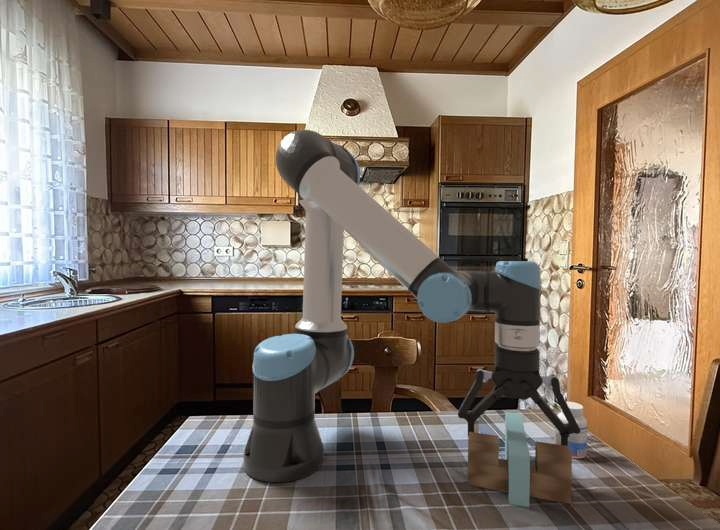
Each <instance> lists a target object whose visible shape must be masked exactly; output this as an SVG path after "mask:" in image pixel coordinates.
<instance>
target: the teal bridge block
mask: <svg viewBox="0 0 720 530" xmlns="http://www.w3.org/2000/svg"><path fill="white" fill-rule="evenodd" d="M504 415H505V416H504V419H505V420H504V429H505V430H504V455H505V456H504V458H505V460H508V470H509V492H508V504H509V505H514V506H519V507H524V508H530V496H529V494H530V464H531V457H530V452H529V447H528V441H527V436H526V431H525V426H524V421H523V415H522V413H518V412H510V411H505V414H504Z"/></svg>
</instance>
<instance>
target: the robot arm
mask: <svg viewBox="0 0 720 530" xmlns="http://www.w3.org/2000/svg"><path fill="white" fill-rule="evenodd" d="M275 166H276V169H277V172H278V175H279V176H280V177H281V178H282V180H283V181H284V182H285V184H287V185H288V186H289V187H290V188H291V189H293V190H294V192H295V193H297V194H298V195H299V198H298V199H299V201H298V202H299V204H300V205H301V206H302V208H303V209H304V211H305V226H304V227H305V228H304V229H305V231H304V259H303V260H304V261H303V295H302V316H301V317H302V318H301V319H300V320H299V321H298V322H297V323H296V324H295V327H294V328H295V331H294V333H286V334H282V335H275V336H271V337H268V338H266V339H264V340H262V341H261V342H260V343H258V345H257V346H255V349H254V352H253V360H252V361H253V362H252V367H251V368H252V369H251V370H252V405H253V406H252V411H253V413H252V414H253V418H252V419H253V420H252V421H253V422H252V426H251V429H250V432H249V435H248V439H247V442H246V444H245V447H244V451H243V469H244V471H245V473H246V474H247V475H249V476H250V477H251V478H253V479H255V480H257V481H262V482H266V483H267V482H268V483H286V482H287V483H288V482H292V481H293V482H294V481H296V480H299V479H303V478H306V477H307V476H310V475H312V474H313V473H315V472H316V471H317V470H318V469H319V468H320V467H321V466H322V464H323V462H324V459H325V458H324V457H325V456H324V450H325V449H324V443H323V441H322V437H321V435H320V431H319V428H318V425H317V422H316V416H315V414H316V413H315V412H316V411H315V409H316V408H315V407H316V403H315V399H316V396H315V395H316V394H317V393H319V392H320V391H321V390H323V389H325V388H326V387H328V386H330V385H332V384H333V383H336V382H338V381H339V380H340V379H341V378H343V377H344V375H346V374H347V373H348V371H349V370H350V368H351V366H352V365H353V363H354V362H353V361H354V357H355V350H354V345H353V342H352V340H351V339H350V337H349V335H348V325H347V324H346V323H345V321H343V319H342V295H343V293H342V292H343V291H342V290H343V289H342V288H343V264H344V259H343V258H344V236H345V235H344V234H345V232H346V233H347V234H348V235H349V236H350V237H351V238H352V239H353V240H355V242H356V243H357V244H359V246H360V247H361V248H363V249H364V250H365V251H366V252H367V253H368V254H369V255H370V256H372V257H373V259H374V260H375V261H377V263H378V264H380V265H381V266H382V267H383V268H384V269H385V270H386V271H387V272H388V273H389V274H390V275H391V276H393V278H394V279H395V280H397V281H398V282H399V283H400V284H401V285H402V286H403V287H404V288H405V290H407V291H408V292H409V293H411V295H412V296H413V297H414V298H415V299H416V300H417V304H418V307H419V310H420V311H421V313H422V314H423V315H424V316H425V317H426V318H427V319H429V320H430V321H433V322H434V323H440V324H441V323H442V324H444V323H445V324H446V323H451V322H455V321H458V320H459V319H460V318H463V317H464V316H466V314H467V313H468V312H486V313H492V312H493V313H494V314H495V315H494V316H495V317H494V320H495V321H494V343H496V345H495V347H494V367H493V370H492V371H491V370H490V371H489V370H486V369H485V370H484V368H483V367H478V368H477V370H476V377H475V380H474V381H473V384H472V386H471V387H470V389H469V391H468V392H467V394H466V396H465V398H464V399H463V400H462V403H461V405H460V407H459V409H458V411H457V412H458V413H457V417H458V418H459V419H463V420H465V421H466V422H467V437H468V436H469V432H475V433H480V432H479V430H480V427H479V426H480V419H479V418H480V417H481V416H482V415H483V414H484V413H485V412H486V411H487V410H488V409H489V408H491V406H492V405H493V404H495V402H496V401H498V400H499V399H500V398H501V397H503V396H504V397H505V398H506V399H511V400H512V399H519V400H521V401H526V400H527V399H531V400H532V401H533V402H534V404H535V405H537V407H538V408H539V409H540V410H541V412H542V413H543V414H544V415H545V416H546V417H547V419H548V420H549V421H550V422H551V424H553V426H554V427H555V428H554V429H553V444H558V445H565V446H568V437H569V434H572V433H575V434H579V433H580V428H579V426H578V425H577V423H576V421H575V419H574V417H573V415H572V413H571V411H570V409H569V407H568V405H567V403H566V402H567V401H566V399H565V397H564V395H563V394H562V391H561V383H560V380H559V378H558V377H557V375H556V374H554V373H552V374H550V375H549V376H547V375H546V376H545V375H541V373H540V358H541V357H540V356H541V355H540V353H541V352H540V350H539V348H538V347H539V346H540V341H541V340H540V339H541V337H540V334H541V332H540V330H541V329H540V326H541V325H540V324H541V323H540V322H541V294H542V293H541V292H542V287H541V286H542V285H541V268H540V265H539V264H538V263H537V262H536V261H532V260H531V261H530V260H529V261H528V260H527V261H525V260H524V261H523V260H522V261H521V260H520V261H519V260H509V261H508V260H505V261H504V260H500V261H499V260H498V261H497V262H496V264H495V268H494V270H491V271H478V270H477V271H476V270H475V271H473V270H454V269H453V268H452V267H451V266H450V265H449V264H448V263H446V262H445V260H443V259H442V258H440V256H439V255H438V254H436V253H435V252H434V251H433V250H432V249H430V247H428V245H426V244H425V243H424V242H423V241H422V240H420V238H418V237H417V236H416V235H415V234H414V233H413V232H412V231H411V230H410V229H408V228H407V227H406V226H405V225H403V223H402V222H400V221H399V220H398V219H397V218H396V217H395V216H394V215H392V214H391V213H390V212H389V211H388V210H386V209H385V207H383V206H382V205H381V204H380V203H379V202H378V201H377V200H375V199H374V198H373V197H372V196H371V195H370V194H369V193H367V192H366V191H365V190H364V189H363V188H362V187H361V186H360V183H361V182H360V181H361V168H360V166H359V162H358V160H357V158H356V157H355V156H354V155H353V154H352V153H351V152H350V151H349V150H348V149H347V148H346V147H345V146H342V145H341V144H337V143H335V142H334V141H332V140H330V139H328V138H327V137H325V136H324V135H322V134H321V133H319V132H317V131H314V130H310V129H297V130H293V131H291V132H289V134H287V135H286V136H284V138H282V140H281V141H280V142H279V144H278V145H277V149H276V152H275ZM344 231H345V232H344ZM489 379H491V380H492V381H493V383H494V384H495V386H494V387H493V388H492V389H491V390H490V391H489V393H488V394H486V396H485V397H483V398H482V399H481V401H479V402H478V403H477V404H476V405H475V406H474V408H472V410H470V411H469V409H470V407H471V406H472V404H473V402H474V401H475V399H476V397H477V395H478V394H479V392H480V390H481V389H482V386H483V383H487V382H488V381H489ZM543 384H544V385H546V388H547V389H548V390H551V391H552V393H553V395H554V398H555V400H556V402H557V403H558V405H559V407H560V410H561V409H562V411H563V413H564V415H565V417H566V419H567V421H568V423H567V424H564V423H563V422H562V421H561V420H560V418H559V417H558V416H557V415H558V414H556V413H555V411H554V410H553V409H552V408H551V406H550V405H549V404H548V403H547V402H546V401H545V400H544V398H543V397H542V395H541V394H540V393H539V392H538V390H539V389H540V387H541V386H542V385H543ZM562 411H561V412H562Z"/></svg>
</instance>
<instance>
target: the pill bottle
mask: <svg viewBox="0 0 720 530" xmlns="http://www.w3.org/2000/svg"><path fill="white" fill-rule="evenodd" d="M566 403H567V405H568V407H569V409H570V411H571V413H572V415H573V417H574V419H575V421H576V423H577V425H578V426H579V428H580V433H579V434H575V433H572V434H569V437H568V447H569V449H570V451H571V454H572V459H583V458H585V457H586V456H587V453H588V451H587V450H588V447H587V446H588V443H587V442H588V421H587V418H586V417H585V416H584V406H583V405H582V404H580V403H578V402H573V401H566ZM560 411H561V412H559V413H557V414H556V415H557V416H558V417H559V418H560V420H561V421H562V422H563V423H564V424H567V423H568V421H567V419H566V417H565V415H564V413H563V411H562V409H561V408H560Z"/></svg>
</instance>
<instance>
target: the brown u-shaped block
mask: <svg viewBox="0 0 720 530" xmlns="http://www.w3.org/2000/svg"><path fill="white" fill-rule="evenodd" d="M499 437H500V436H499V435H495V434H489V433H488V434H487V433H481V432H479V433H475V432H469V436H468V435H467V485H468V486H474V487H477V488H483V489H488V490H494V491H500V492H504V493H509V470H508V460H506V459H503V458H500V457H499V450H500V449H499V446H500V440H499ZM534 450H535V458H534V460H535V461H534V462H535V463H530V494H529V497H530V498H531V497H532V498H537V499H541V500H547V501H552V502H557V503H564V504H569V505H572V473H573V472H572V468H573V467H572V465H573V461H572V460H573V458H572V454H571V451H570V449H569V447H568V446H565V445H558V444H554V443H551V442H545V441H544V442H542V441H537V440H535V449H534Z"/></svg>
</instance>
